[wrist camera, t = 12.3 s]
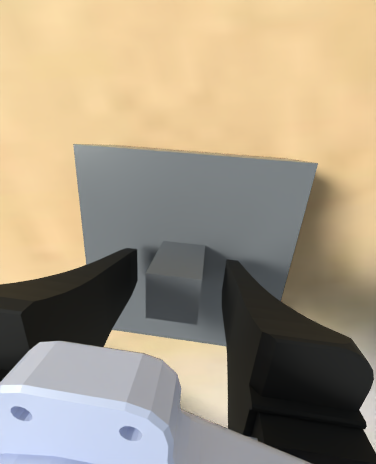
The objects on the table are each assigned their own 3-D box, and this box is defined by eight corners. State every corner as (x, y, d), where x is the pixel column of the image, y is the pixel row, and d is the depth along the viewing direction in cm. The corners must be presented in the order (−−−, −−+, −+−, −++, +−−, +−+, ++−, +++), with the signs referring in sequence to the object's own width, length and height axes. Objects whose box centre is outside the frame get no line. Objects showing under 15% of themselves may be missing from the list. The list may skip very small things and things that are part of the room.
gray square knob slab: (254, 304, 19) (281, 409, 11) (120, 287, 20) (61, 374, 12) (286, 158, 15) (365, 170, 7) (113, 144, 16) (16, 143, 8)
